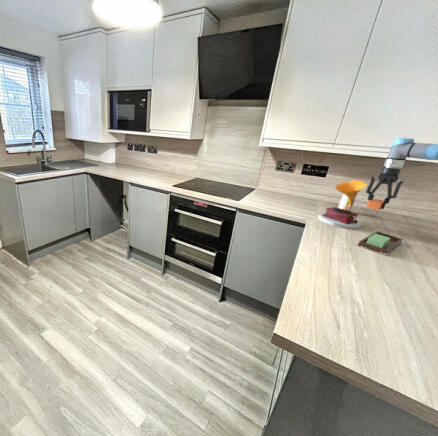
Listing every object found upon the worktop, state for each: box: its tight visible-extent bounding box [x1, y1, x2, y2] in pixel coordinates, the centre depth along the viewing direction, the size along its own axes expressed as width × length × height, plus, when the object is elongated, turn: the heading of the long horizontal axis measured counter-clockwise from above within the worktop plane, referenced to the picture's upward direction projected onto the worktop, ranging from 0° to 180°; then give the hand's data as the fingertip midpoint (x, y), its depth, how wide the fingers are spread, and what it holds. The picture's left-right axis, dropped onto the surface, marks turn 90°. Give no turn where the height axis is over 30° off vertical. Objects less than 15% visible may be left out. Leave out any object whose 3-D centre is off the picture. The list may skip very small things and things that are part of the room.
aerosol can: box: [337, 193, 358, 212], centre depth 156 cm, size 7×7×20 cm
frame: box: [357, 231, 404, 255], centre depth 114 cm, size 10×25×2 cm, turn 123°
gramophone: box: [317, 179, 369, 230], centre depth 135 cm, size 20×20×25 cm
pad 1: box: [366, 198, 384, 211], centre depth 138 cm, size 10×6×4 cm, turn 123°
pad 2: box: [366, 234, 391, 248], centre depth 110 cm, size 10×6×4 cm, turn 123°
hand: (375, 206), depth 139 cm, fingers closed on pad 1, 5 cm apart
